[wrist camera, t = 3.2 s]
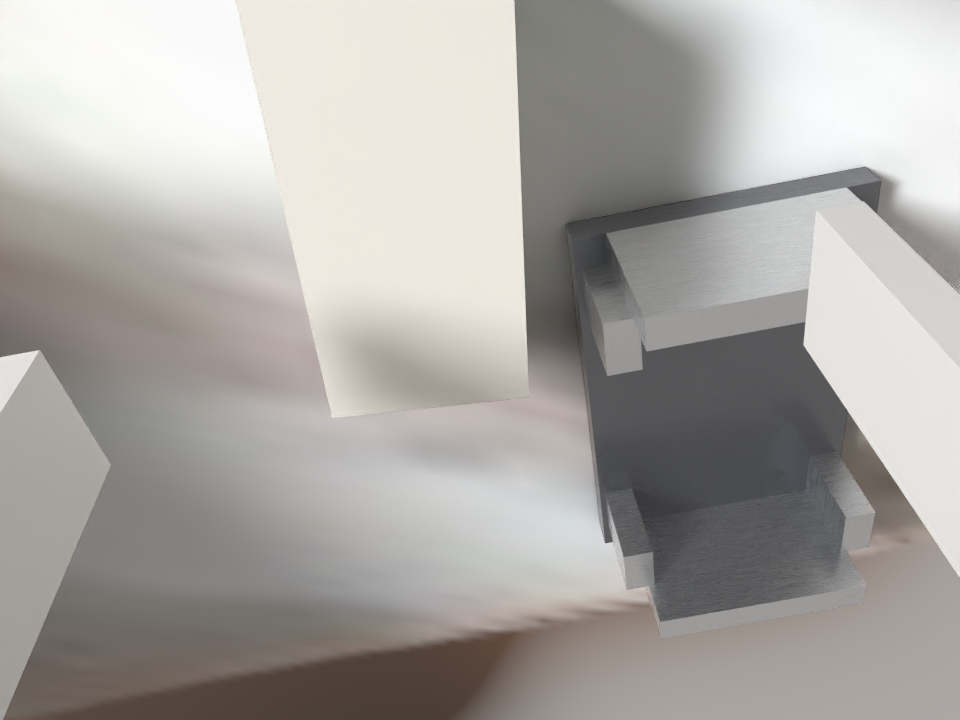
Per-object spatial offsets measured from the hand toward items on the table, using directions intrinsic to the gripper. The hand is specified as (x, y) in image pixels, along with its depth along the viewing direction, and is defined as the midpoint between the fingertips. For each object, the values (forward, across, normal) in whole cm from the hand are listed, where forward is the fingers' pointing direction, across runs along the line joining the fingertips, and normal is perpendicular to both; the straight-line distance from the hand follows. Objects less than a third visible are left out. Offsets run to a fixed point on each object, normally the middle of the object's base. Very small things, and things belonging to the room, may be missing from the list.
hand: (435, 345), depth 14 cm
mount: (+10, +8, -10) cm, 17 cm away
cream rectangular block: (+10, -1, 0) cm, 10 cm away
